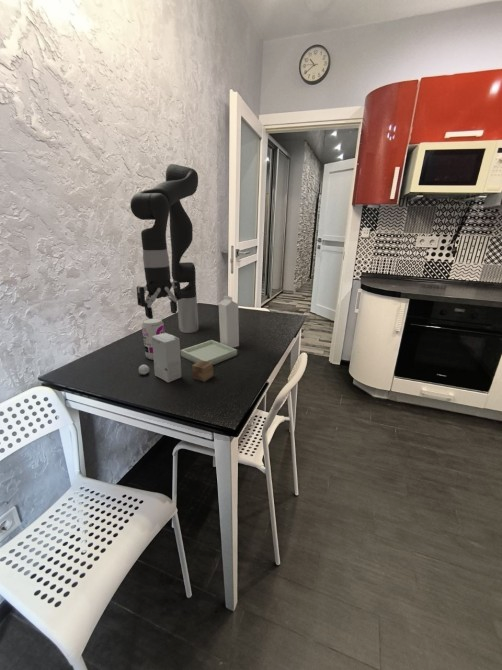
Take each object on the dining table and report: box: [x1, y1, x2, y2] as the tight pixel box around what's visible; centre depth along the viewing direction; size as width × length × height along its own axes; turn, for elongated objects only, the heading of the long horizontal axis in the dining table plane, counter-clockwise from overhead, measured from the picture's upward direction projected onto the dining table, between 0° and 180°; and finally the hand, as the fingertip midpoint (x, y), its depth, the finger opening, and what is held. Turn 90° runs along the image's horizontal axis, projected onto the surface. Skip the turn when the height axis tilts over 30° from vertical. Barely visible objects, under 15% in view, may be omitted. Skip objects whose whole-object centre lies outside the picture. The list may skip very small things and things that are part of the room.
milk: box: [218, 294, 240, 348], centre depth 129 cm, size 6×6×22 cm
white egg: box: [138, 364, 150, 376], centre depth 108 cm, size 4×4×4 cm
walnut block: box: [191, 360, 214, 382], centre depth 105 cm, size 5×5×5 cm
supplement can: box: [141, 317, 166, 361], centre depth 120 cm, size 8×8×15 cm
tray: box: [180, 339, 238, 366], centre depth 123 cm, size 16×16×2 cm
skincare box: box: [152, 332, 182, 383], centre depth 104 cm, size 8×6×15 cm
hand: (162, 315), depth 99 cm, fingers open, 8 cm apart
